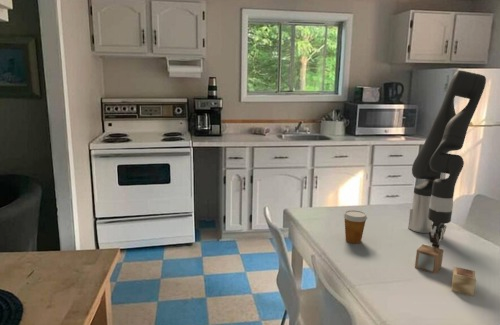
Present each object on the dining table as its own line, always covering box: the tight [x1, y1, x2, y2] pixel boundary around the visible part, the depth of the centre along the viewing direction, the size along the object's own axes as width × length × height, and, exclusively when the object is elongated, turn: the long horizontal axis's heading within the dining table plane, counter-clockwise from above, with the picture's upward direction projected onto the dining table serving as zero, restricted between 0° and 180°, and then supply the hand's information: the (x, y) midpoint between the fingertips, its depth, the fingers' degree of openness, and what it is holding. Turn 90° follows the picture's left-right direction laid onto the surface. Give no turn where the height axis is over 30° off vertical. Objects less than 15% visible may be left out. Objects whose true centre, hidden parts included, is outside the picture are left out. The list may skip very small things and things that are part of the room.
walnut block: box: [414, 243, 445, 275], centre depth 134 cm, size 7×7×7 cm
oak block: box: [451, 266, 477, 297], centre depth 120 cm, size 6×6×6 cm
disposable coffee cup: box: [343, 209, 368, 244], centre depth 157 cm, size 10×10×12 cm
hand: (434, 252), depth 139 cm, fingers closed
